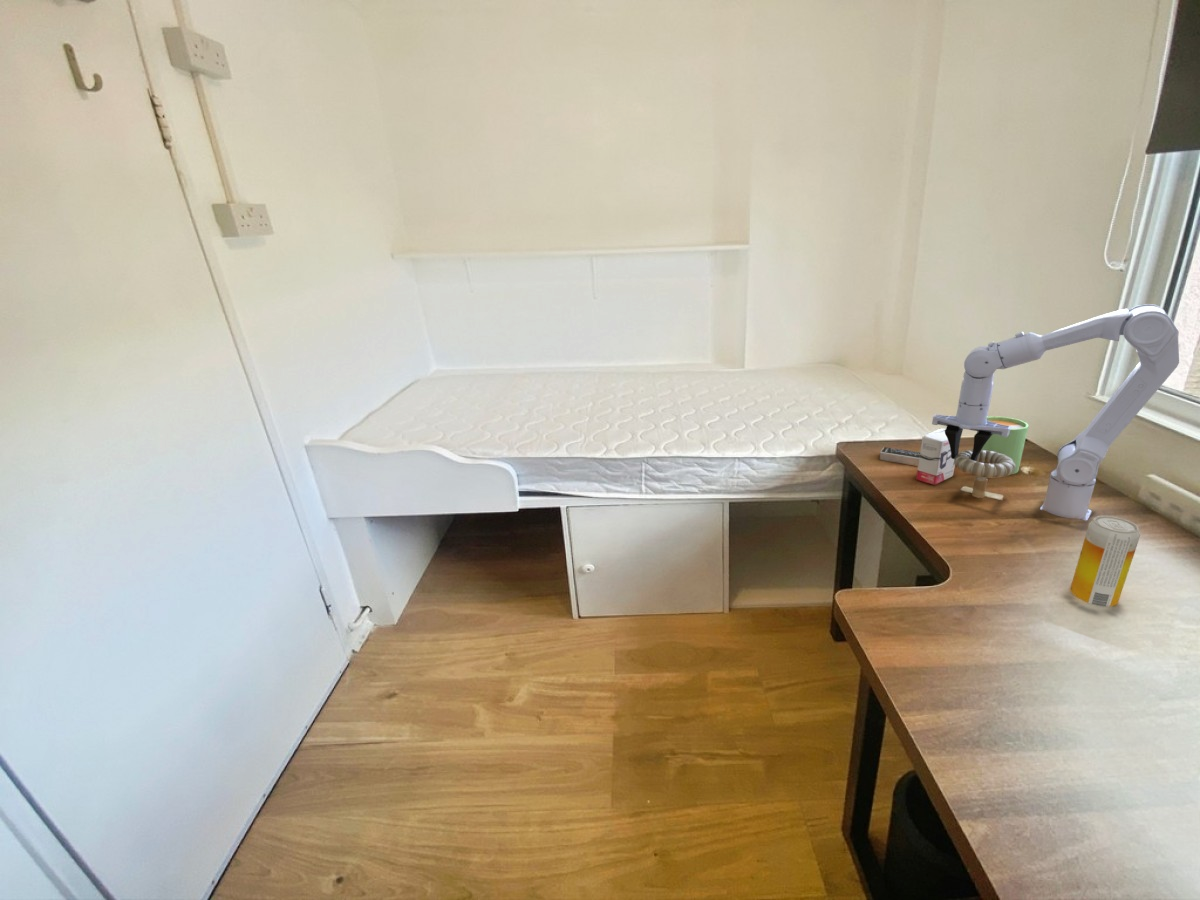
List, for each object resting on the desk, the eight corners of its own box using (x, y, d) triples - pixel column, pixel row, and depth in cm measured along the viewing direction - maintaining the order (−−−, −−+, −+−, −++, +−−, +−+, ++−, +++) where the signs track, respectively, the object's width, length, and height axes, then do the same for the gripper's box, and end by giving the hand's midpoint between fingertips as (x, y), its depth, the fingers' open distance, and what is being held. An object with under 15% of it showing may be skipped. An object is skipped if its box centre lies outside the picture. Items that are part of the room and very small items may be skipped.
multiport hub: (924, 467, 145) (925, 459, 144) (879, 459, 151) (880, 451, 150) (927, 461, 148) (928, 453, 147) (883, 454, 154) (883, 446, 154)
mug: (1029, 473, 137) (1040, 428, 133) (986, 476, 138) (995, 430, 133) (996, 454, 149) (1005, 412, 144) (957, 456, 149) (964, 414, 145)
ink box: (935, 485, 135) (942, 441, 130) (914, 479, 139) (921, 435, 134) (953, 476, 139) (961, 432, 134) (933, 470, 143) (940, 427, 138)
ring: (962, 456, 131) (964, 444, 130) (1019, 467, 123) (1022, 454, 122) (946, 471, 124) (948, 459, 123) (1006, 484, 116) (1009, 471, 115)
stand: (962, 490, 132) (966, 468, 129) (1002, 499, 126) (1007, 477, 124) (951, 502, 127) (955, 480, 125) (992, 512, 121) (997, 489, 119)
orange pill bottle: (1105, 593, 94) (1130, 516, 88) (1123, 616, 89) (1150, 535, 83) (1062, 588, 96) (1083, 512, 90) (1077, 610, 91) (1101, 531, 85)
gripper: (931, 401, 123) (922, 457, 128) (1008, 412, 113) (996, 473, 118) (942, 394, 128) (933, 448, 133) (1017, 404, 118) (1005, 462, 123)
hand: (963, 459), depth 126 cm, fingers closed on ring, 3 cm apart
